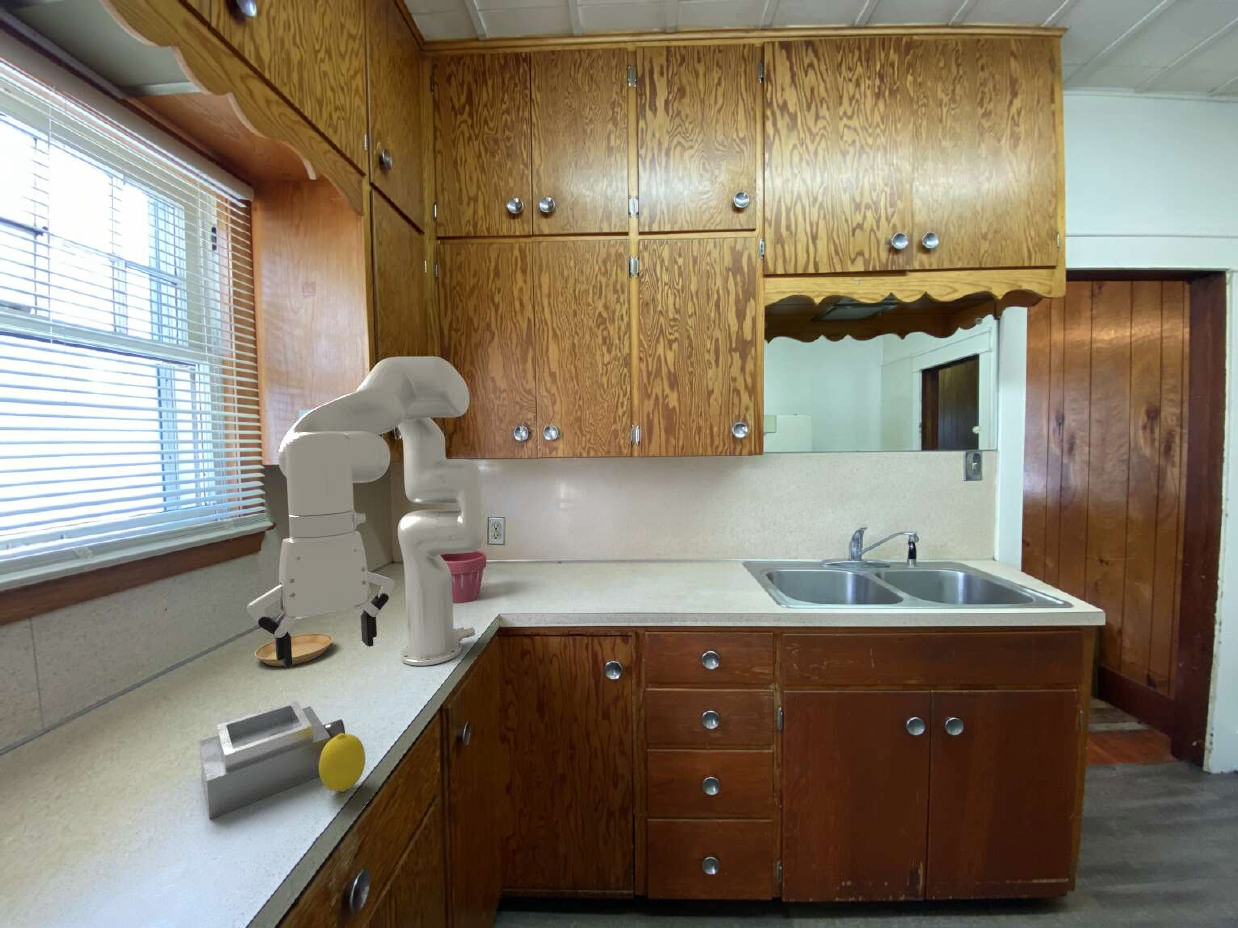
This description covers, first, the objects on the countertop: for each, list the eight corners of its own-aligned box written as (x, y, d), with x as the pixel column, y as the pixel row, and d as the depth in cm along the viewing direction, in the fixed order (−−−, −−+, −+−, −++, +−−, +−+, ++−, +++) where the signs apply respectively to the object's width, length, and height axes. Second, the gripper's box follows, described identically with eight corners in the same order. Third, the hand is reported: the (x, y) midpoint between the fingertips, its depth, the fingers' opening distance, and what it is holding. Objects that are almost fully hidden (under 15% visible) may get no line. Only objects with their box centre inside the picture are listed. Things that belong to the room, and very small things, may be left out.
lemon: (348, 807, 69) (345, 747, 68) (310, 803, 70) (307, 743, 69) (375, 779, 74) (372, 724, 74) (339, 776, 75) (336, 721, 75)
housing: (332, 729, 87) (330, 687, 87) (354, 761, 78) (352, 715, 78) (201, 775, 76) (198, 727, 76) (209, 819, 67) (205, 765, 67)
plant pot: (485, 604, 151) (483, 559, 150) (433, 607, 148) (431, 562, 148) (489, 589, 165) (488, 548, 164) (442, 592, 163) (440, 551, 162)
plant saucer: (265, 649, 122) (264, 638, 122) (337, 639, 127) (337, 628, 127) (246, 676, 108) (245, 664, 108) (328, 663, 114) (327, 651, 113)
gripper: (382, 515, 79) (387, 629, 80) (239, 531, 68) (247, 663, 68) (399, 521, 73) (405, 644, 74) (246, 538, 62) (254, 683, 63)
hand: (329, 653), depth 71 cm, fingers open, 9 cm apart
